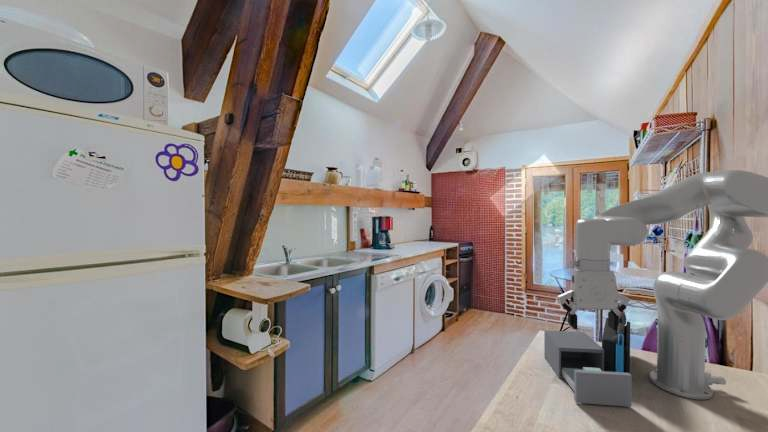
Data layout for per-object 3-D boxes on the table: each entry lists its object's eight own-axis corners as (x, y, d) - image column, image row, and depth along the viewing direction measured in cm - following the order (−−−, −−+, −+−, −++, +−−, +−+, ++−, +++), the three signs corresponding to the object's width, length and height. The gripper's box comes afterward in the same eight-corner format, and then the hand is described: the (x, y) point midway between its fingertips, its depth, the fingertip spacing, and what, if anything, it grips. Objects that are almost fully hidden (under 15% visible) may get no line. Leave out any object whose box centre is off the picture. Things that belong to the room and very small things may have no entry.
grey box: (603, 381, 88) (604, 349, 88) (558, 378, 90) (558, 347, 90) (583, 359, 100) (584, 332, 100) (544, 357, 102) (544, 330, 102)
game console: (629, 394, 83) (630, 340, 82) (600, 385, 86) (601, 334, 86) (629, 352, 104) (630, 310, 104) (606, 347, 108) (607, 306, 108)
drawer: (631, 406, 77) (631, 375, 76) (576, 402, 79) (576, 372, 78) (603, 377, 89) (603, 350, 89) (556, 374, 91) (556, 348, 91)
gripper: (563, 267, 80) (563, 332, 80) (638, 267, 77) (638, 335, 78) (552, 262, 87) (552, 321, 88) (620, 261, 84) (620, 323, 85)
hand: (592, 327), depth 83 cm, fingers open, 9 cm apart
